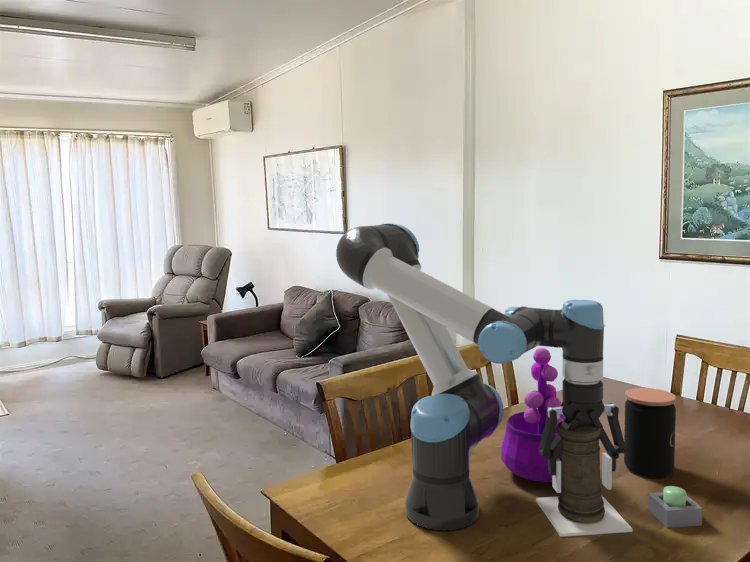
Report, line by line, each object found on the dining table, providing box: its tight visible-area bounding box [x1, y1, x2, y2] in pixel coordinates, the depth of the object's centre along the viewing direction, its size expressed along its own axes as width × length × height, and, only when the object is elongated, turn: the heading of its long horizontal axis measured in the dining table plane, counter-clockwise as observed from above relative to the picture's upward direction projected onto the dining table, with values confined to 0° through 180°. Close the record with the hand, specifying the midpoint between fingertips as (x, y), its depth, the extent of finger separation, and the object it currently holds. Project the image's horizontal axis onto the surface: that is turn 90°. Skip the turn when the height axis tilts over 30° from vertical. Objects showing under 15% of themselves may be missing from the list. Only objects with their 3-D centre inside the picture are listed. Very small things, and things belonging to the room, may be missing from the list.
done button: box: [662, 485, 687, 507], centre depth 117 cm, size 4×4×4 cm
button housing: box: [647, 491, 703, 529], centre depth 118 cm, size 7×7×4 cm
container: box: [556, 422, 605, 523], centre depth 118 cm, size 9×9×18 cm
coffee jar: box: [623, 387, 677, 479], centre depth 138 cm, size 11×11×18 cm
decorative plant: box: [500, 347, 565, 483], centre depth 137 cm, size 19×18×30 cm
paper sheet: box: [535, 495, 633, 537], centre depth 120 cm, size 14×14×1 cm
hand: (581, 487), depth 119 cm, fingers open, 9 cm apart
